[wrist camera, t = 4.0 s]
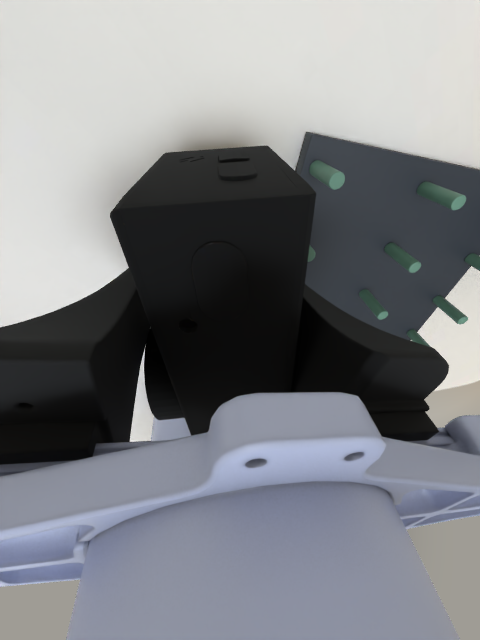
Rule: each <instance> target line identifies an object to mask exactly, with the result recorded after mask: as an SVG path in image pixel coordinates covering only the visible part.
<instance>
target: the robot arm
mask: <svg viewBox="0 0 480 640" xmlns="http://www.w3.org/2000/svg"><path fill="white" fill-rule="evenodd" d="M150 327H151V326H150V323H149V320H148V318H147V315H146V312H145V310H144V307H143V304H142V301H141V299H140V296H139V293H138V291H137V288H136V285H135V282H134V280H133V277H132V274H131V272H130V269H129V268H128V269H127V270H126V271H124V272H123V273H122V274H121V275H119V276H118V277H117V278H116V279H114V280H113V281H111V282H110V283H108V284H107V285H105V286H104V287H103V288H101V289H100V290H98V291H96V292H94V293H93V294H91V295H89V296H87V297H85V298H83V299H81V300H79V301H77V302H75V303H73V304H70V305H68V306H66V307H63V308H61V309H59V310H56V311H54V312H51V313H48V314H45V315H43V316H40V317H36V318H33V319H30V320H27V321H24V322H20V323H17V324H13V325H9V326H5V327H1V328H0V587H2V586H12V585H23V584H35V583H46V582H57V581H68V580H80V583H79V587H78V591H77V596H76V600H75V604H74V608H73V612H72V617H71V621H70V625H69V629H68V633H67V637H66V640H460V638H459V636H458V634H457V632H456V630H455V628H454V626H453V624H452V622H451V620H450V618H449V616H448V614H447V612H446V610H445V607H444V605H443V603H442V601H441V599H440V597H439V596H438V593H437V591H436V589H435V587H434V585H433V583H432V581H431V579H430V577H429V575H428V573H427V571H426V569H425V567H424V565H423V563H422V560H421V558H420V556H419V554H418V552H417V550H416V548H415V546H414V544H413V542H412V540H411V538H410V536H409V534H408V532H407V530H406V529H409V528H414V527H419V526H423V525H429V524H434V523H439V522H444V521H449V520H455V519H461V518H466V517H472V516H479V515H480V415H465V416H460V417H457V418H455V419H453V420H451V421H450V422H449V423H448V424H447V425H446V426H445V428H437V427H436V426H435V425H434V423H433V422H432V421H431V419H430V418H429V417H428V415H427V414H426V413H425V411H428V410H429V406H428V405H427V403H426V402H425V401H424V399H425V398H426V397H427V396H428V395H429V394H430V393H431V392H432V391H434V390H435V389H436V388H437V387H438V386H439V385H440V384H441V383H442V382H443V380H444V379H445V378H446V376H447V374H448V370H449V365H448V363H447V362H446V360H445V359H444V358H443V357H442V356H441V355H440V354H439V353H438V352H437V351H436V350H435V349H434V348H432V347H429V346H426V345H422V344H419V343H416V342H413V341H410V340H406V339H403V338H401V337H398V336H395V335H393V334H390V333H387V332H385V331H383V330H380V329H378V328H376V327H373V326H371V325H369V324H367V323H365V322H363V321H361V320H359V319H357V318H355V317H353V316H351V315H350V314H348V313H346V312H344V311H343V310H341V309H339V308H338V307H336V306H335V305H333V304H332V303H330V302H329V301H327V300H326V299H324V298H323V297H322V296H320V295H319V294H318V293H316V292H315V291H314V290H312V289H311V288H310V287H308V286H307V285H306V284H305V286H304V294H303V302H302V310H301V317H300V325H299V333H298V340H297V348H296V355H295V363H294V370H293V378H292V386H291V393H253V394H247V395H241V396H237V397H235V398H233V399H231V400H229V401H227V402H225V403H223V404H222V405H221V406H219V408H218V409H217V411H216V412H215V413H214V415H213V416H212V418H211V422H210V427H209V431H208V432H206V433H202V434H197V435H192V436H191V434H190V431H189V429H188V426H187V423H186V420H185V418H178V419H169V420H157V419H156V418H155V417H154V420H153V428H152V436H151V441H141V442H129V441H130V433H131V425H132V418H133V410H134V403H135V396H136V390H137V383H138V377H139V370H140V365H141V360H142V356H143V352H144V349H145V345H146V341H147V337H148V333H149V330H150Z"/></svg>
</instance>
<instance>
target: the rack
mask: <svg viewBox="0 0 480 640" xmlns="http://www.w3.org/2000/svg"><path fill="white" fill-rule="evenodd" d="M296 173H298V174H299V175H300V176H301V177H302V178H303V179H304V180H305V181H306V182H307V183H308V184H309V185H310V186H311V187H312V188H313V190H314V191H315V192H316V200H315V208H314V216H313V223H312V231H311V239H310V247H309V255H308V263H307V270H306V278H305V284H306V285H307V286H308V287H310V288H311V289H312V290H314V291H315V292H316V293H318V294H319V295H320V296H322V297H323V298H324V299H326V300H327V301H329V302H330V303H332V304H333V305H335V306H336V307H338V308H339V309H341V310H343V311H344V312H346V313H348V314H350V315H351V316H353V317H355V318H357V319H359V320H361V321H363V322H365V323H367V324H369V325H371V326H373V327H376V328H378V329H380V330H383V331H385V332H387V333H390V334H393V335H395V336H398V337H401V338H403V339H406V340H412V341H413V342H416V343H419V344H422V345H426V346H429V345H428V344H427V342H426V341H425V340H424V339H423V338H422V337H421V336H420V335H419V334H418V333H417V332H418V330H419V329H420V328H421V327H422V325H423V324H424V323H425V322H426V321H427V319H428V318H429V317H430V316H431V314H432V313H433V312H434V311H435V310H436V308H437V307H439V308H440V309H441V310H442V311H444V312H445V313H446V314H447V315H448V316H449V317H450V318H452V319H453V320H454V321H455V322H456V323H457V324H463V323H465V322H466V321H467V320H468V317H467V316H466V315H464V314H463V313H462V312H461V311H459V310H458V309H457V308H456V307H454V306H453V305H452V304H451V303H450V302H448V301H447V300H446V299H445V297H446V296H447V295H448V294H449V292H450V291H451V290H452V289H453V287H454V286H455V285H456V284H457V283H458V281H459V280H460V279H461V278H462V276H463V275H464V274H465V273H466V272H467V270H468V269H469V268H470V267H471V266H472V267H474V268H476V269H477V270H479V271H480V170H478V169H474V168H469V167H465V166H460V165H455V164H451V163H446V162H442V161H437V160H433V159H428V158H423V157H419V156H414V155H410V154H405V153H401V152H396V151H391V150H387V149H382V148H378V147H373V146H369V145H364V144H359V143H355V142H350V141H346V140H341V139H337V138H332V137H328V136H323V135H318V134H314V133H309V132H307V133H306V135H305V139H304V143H303V146H302V150H301V154H300V157H299V161H298V165H297V168H296ZM429 347H430V346H429Z"/></svg>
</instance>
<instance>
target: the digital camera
mask: <svg viewBox="0 0 480 640" xmlns="http://www.w3.org/2000/svg"><path fill="white" fill-rule="evenodd" d="M315 200H316V192H315V191H314V190H313V188H312V187H311V186H310V185H309V184H308V183H307V182H306V181H305V180H304V179H303V178H302V177H301V176H300V175H299V174H298V173H296V172H295V171H294V170H293V169H292V168H291V167H290V166H289V165H288V164H287V163H286V162H285V161H284V160H282V159H281V158H280V157H279V156H278V155H277V154H276V153H275V152H274V151H273V150H272V149H271V148H270V147H268V146H255V147H241V148H227V149H213V150H199V151H184V152H170V153H165V154H163V155H162V156H161V157H160V158H159V160H158V161H157V162H156V163H155V164H154V165H153V166H152V167H151V168H150V169H149V170H148V171H147V172H146V173H145V174H144V175H143V176H142V177H141V178H140V180H139V181H138V182H137V183H136V184H135V185H134V186H133V187H132V188H131V189H130V190H129V191H128V192H127V193H126V194H125V195H124V196H123V198H122V199H121V200H120V201H119V203H118V204H117V205H116V207H115V208H114V209H113V210H112V212H111V213H110V218H111V220H112V223H113V226H114V228H115V231H116V234H117V237H118V239H119V242H120V245H121V247H122V250H123V253H124V255H125V258H126V261H127V264H128V266H129V269H130V272H131V274H132V277H133V280H134V282H135V285H136V288H137V291H138V293H139V296H140V299H141V301H142V304H143V307H144V310H145V312H146V315H147V318H148V320H149V323H150V326H151V328H150V330H149V333H148V337H147V341H146V347H145V359H144V375H145V387H146V394H147V399H148V403H149V406H150V409H151V411H152V414H153V415H154V417H155V418H156V419H157V420H169V419H178V418H185V420H186V423H187V426H188V429H189V431H190V434H191V436H192V435H197V434H202V433H206V432H208V431H209V427H210V422H211V418H212V416H213V415H214V413H215V412H216V411H217V409H218V408H219V406H221V405H222V404H223V403H225V402H227V401H229V400H231V399H233V398H235V397H237V396H241V395H247V394H253V393H291V386H292V378H293V370H294V363H295V355H296V348H297V340H298V333H299V325H300V317H301V310H302V302H303V294H304V286H305V278H306V270H307V263H308V255H309V247H310V239H311V231H312V223H313V216H314V208H315Z"/></svg>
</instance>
